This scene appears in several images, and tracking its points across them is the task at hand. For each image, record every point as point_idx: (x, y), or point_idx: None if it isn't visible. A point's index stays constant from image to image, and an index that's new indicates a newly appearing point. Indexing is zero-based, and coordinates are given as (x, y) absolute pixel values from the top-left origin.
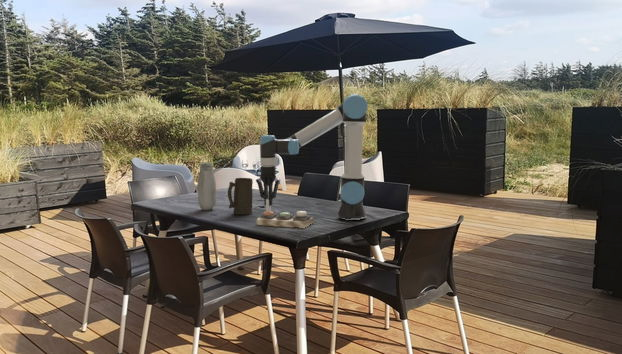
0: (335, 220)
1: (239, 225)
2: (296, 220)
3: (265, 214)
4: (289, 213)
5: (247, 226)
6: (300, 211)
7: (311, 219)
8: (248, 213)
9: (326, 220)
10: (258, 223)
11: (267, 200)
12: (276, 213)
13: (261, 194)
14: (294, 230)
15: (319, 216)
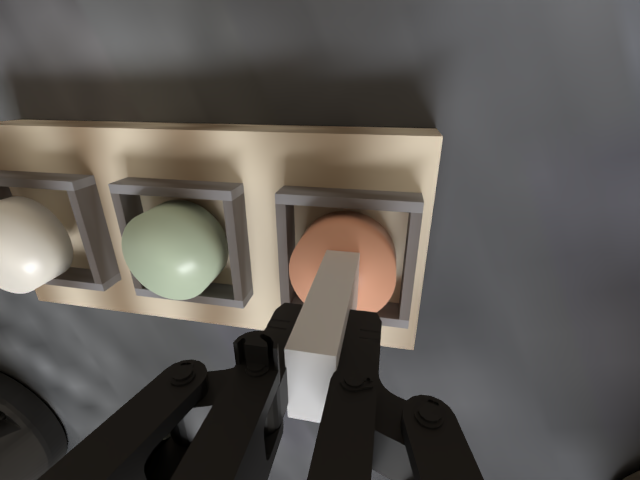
0: (30, 367)
1: (633, 38)
2: (64, 174)
3: (360, 222)
4: (123, 253)
5: (515, 19)
6: (21, 271)
7: None
8: (636, 477)
9: (65, 362)
10: (417, 129)
11: (310, 342)
12: None
13: (442, 467)
14: (32, 13)
15: None
